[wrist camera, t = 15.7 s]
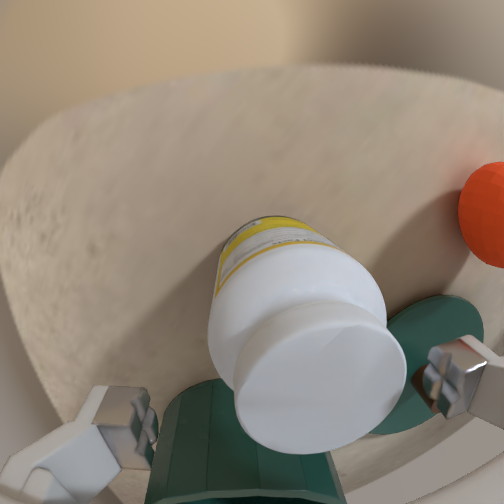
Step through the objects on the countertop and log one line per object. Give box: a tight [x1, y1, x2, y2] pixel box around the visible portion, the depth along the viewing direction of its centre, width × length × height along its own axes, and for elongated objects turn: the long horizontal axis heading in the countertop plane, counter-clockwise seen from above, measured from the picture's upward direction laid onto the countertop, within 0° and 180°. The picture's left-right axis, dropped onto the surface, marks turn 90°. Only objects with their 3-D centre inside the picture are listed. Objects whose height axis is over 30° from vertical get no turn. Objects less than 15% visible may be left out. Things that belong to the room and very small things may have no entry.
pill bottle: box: [208, 216, 407, 454], centre depth 13 cm, size 6×6×12 cm
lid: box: [368, 295, 484, 434], centre depth 19 cm, size 14×14×5 cm
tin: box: [144, 378, 347, 504], centre depth 17 cm, size 13×13×10 cm
